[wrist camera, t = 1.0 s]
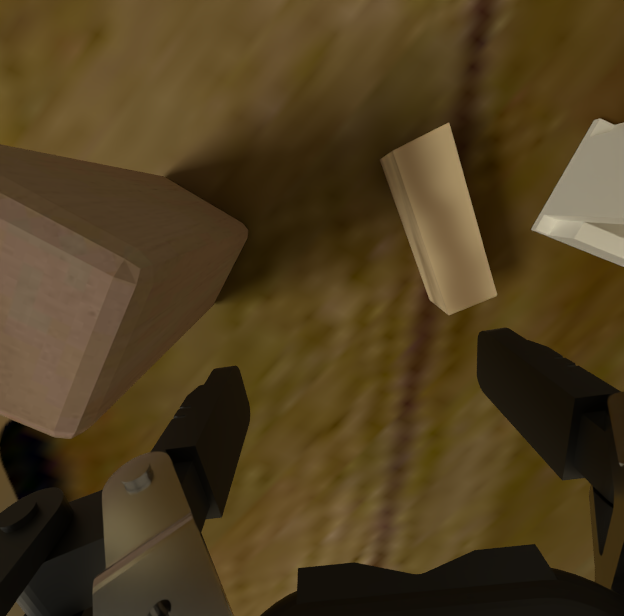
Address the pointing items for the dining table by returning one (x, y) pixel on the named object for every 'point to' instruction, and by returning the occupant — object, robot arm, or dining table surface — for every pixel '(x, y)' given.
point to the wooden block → (97, 282)
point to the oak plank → (440, 220)
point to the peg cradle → (590, 196)
